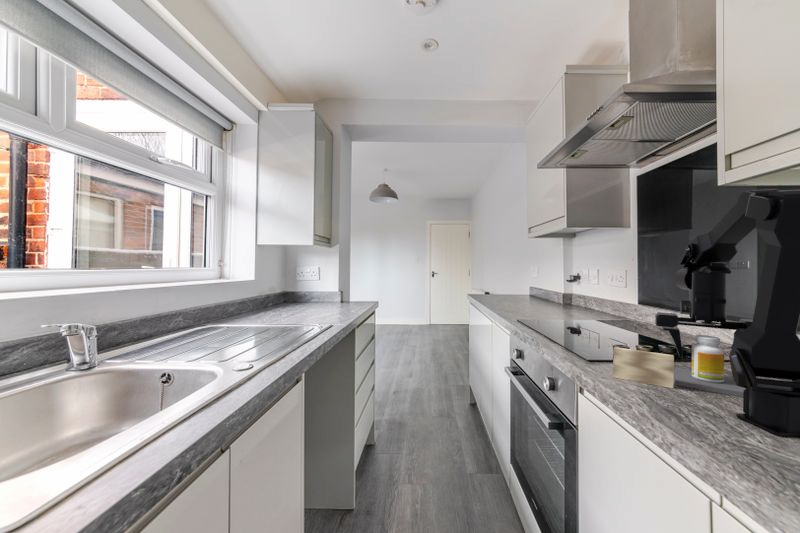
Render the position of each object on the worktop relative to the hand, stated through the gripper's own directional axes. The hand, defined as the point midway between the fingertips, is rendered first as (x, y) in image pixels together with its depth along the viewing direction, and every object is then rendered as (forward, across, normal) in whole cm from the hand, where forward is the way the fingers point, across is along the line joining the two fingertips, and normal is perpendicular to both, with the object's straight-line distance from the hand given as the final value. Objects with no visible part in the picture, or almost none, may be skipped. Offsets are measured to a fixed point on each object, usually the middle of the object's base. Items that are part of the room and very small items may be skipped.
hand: (707, 360), depth 72 cm
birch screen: (+5, +12, +8) cm, 15 cm away
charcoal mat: (+5, 0, 0) cm, 5 cm away
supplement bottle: (+4, 0, 0) cm, 4 cm away
